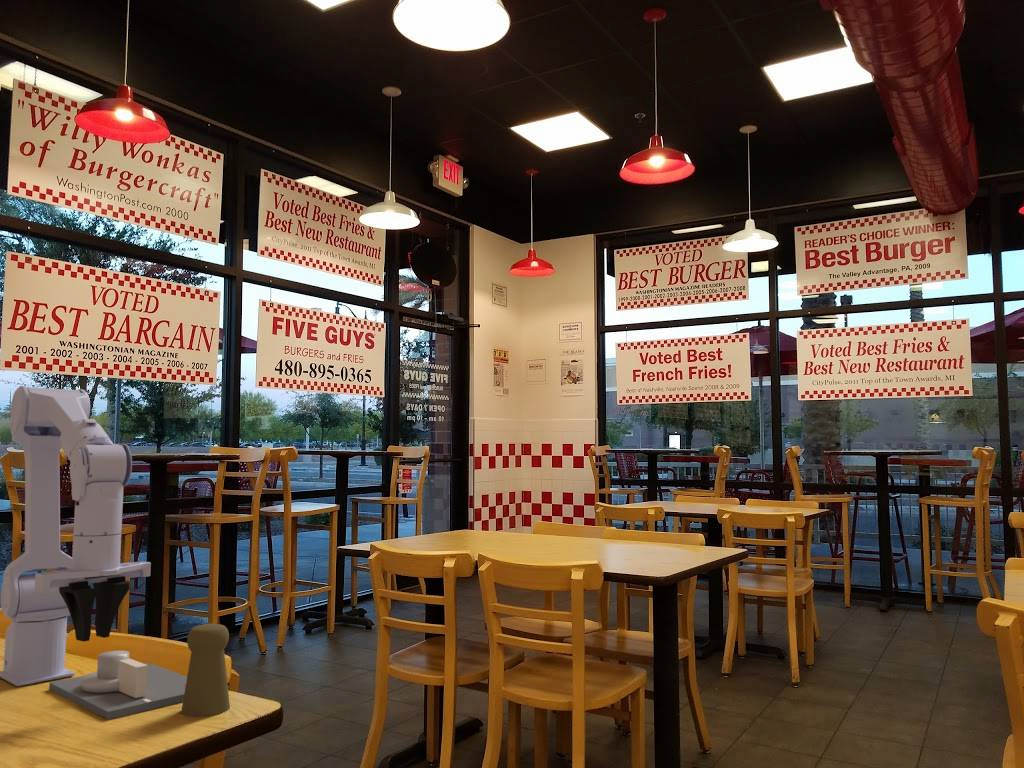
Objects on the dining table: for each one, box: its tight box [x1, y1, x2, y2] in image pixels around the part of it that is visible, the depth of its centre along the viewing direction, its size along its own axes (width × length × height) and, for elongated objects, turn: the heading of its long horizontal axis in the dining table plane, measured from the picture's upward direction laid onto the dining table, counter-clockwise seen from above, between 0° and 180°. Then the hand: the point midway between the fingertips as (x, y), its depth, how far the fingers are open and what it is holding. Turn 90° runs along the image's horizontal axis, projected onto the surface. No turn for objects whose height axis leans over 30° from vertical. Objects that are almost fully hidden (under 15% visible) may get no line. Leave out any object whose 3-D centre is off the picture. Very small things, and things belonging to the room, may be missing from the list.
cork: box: [180, 623, 231, 718], centre depth 106 cm, size 6×6×11 cm
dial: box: [80, 650, 148, 698], centre depth 111 cm, size 13×8×4 cm, turn 49°
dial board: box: [48, 662, 187, 721], centre depth 113 cm, size 20×14×1 cm
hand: (92, 638), depth 105 cm, fingers open, 2 cm apart
